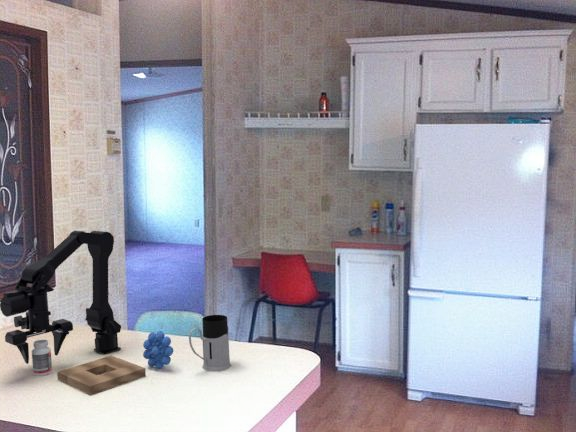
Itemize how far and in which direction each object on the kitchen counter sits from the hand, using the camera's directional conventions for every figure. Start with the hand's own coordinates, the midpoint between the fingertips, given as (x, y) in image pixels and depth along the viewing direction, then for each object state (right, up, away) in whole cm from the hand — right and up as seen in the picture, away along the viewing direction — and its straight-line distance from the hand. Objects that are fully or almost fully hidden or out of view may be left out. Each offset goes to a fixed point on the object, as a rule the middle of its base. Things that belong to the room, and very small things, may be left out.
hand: (41, 359), depth 197 cm
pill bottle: (0, -4, +1) cm, 5 cm away
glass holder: (+50, -3, 0) cm, 50 cm away
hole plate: (+19, -4, -5) cm, 21 cm away
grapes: (+35, -3, +2) cm, 36 cm away
